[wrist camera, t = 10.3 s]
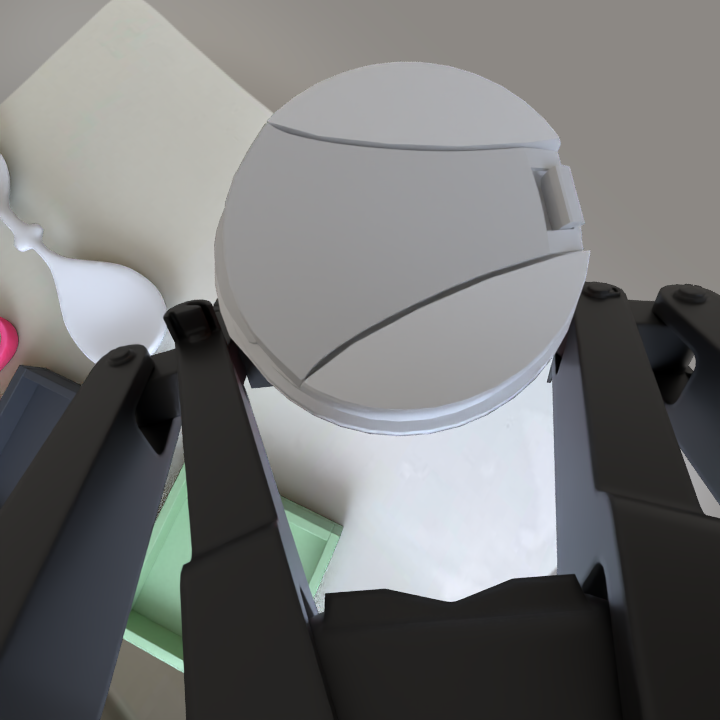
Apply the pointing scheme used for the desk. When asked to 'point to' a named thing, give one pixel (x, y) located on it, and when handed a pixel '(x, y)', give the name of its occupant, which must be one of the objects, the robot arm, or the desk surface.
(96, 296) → the spoon
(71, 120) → the desk surface
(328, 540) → the sage tray
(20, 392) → the charcoal tray
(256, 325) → the paper cup
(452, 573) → the desk surface
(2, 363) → the fitness band
